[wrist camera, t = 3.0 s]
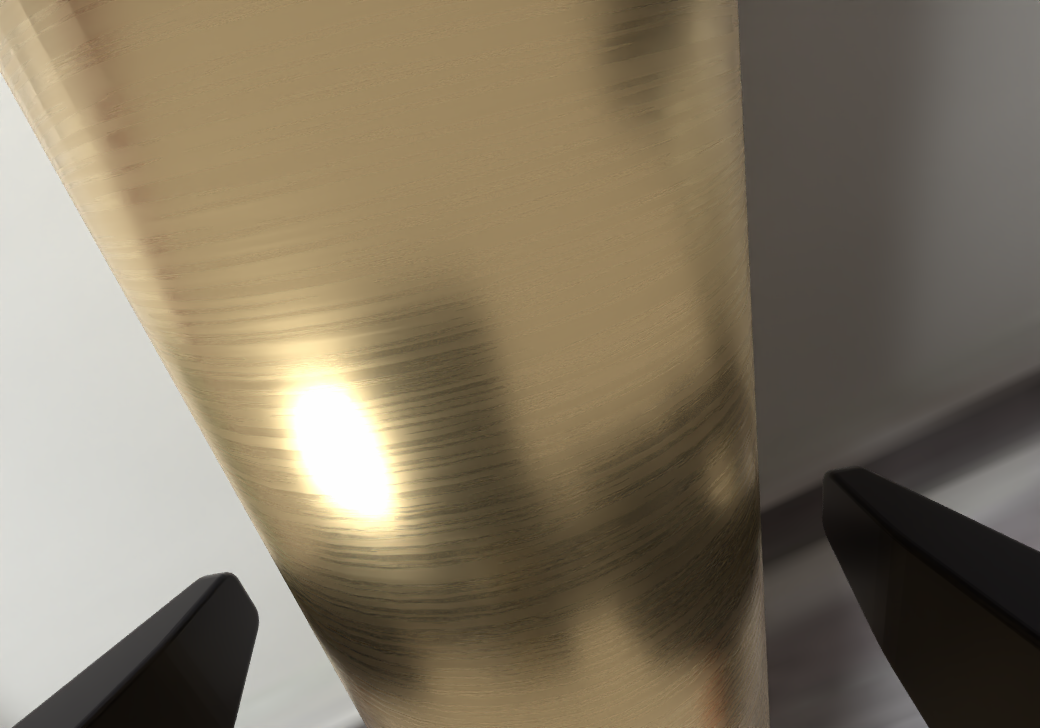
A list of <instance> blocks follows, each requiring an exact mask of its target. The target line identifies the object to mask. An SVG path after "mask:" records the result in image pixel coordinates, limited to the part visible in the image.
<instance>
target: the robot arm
mask: <svg viewBox="0 0 1040 728" xmlns="http://www.w3.org/2000/svg"><path fill="white" fill-rule="evenodd" d="M822 518H823V526H824V530H825V533H826V536H827V538H828V541H829V543H830V545H831V547H832V549H833V551H834V553H835V555H836V557H837V559H838V561H839V563H840V565H841V568H842V570H843V572H844V574H845V576H846V578H847V580H848V582H849V584H850V586H851V588H852V590H853V592H854V594H855V597H856V599H857V601H858V603H859V605H860V607H861V609H862V611H863V613H864V615H865V617H866V619H867V621H868V624H869V626H870V628H871V630H872V632H873V634H874V636H875V638H876V640H877V642H878V644H879V645H880V647H881V649H882V651H883V653H884V655H885V656H886V658H887V660H888V662H889V663H890V665H891V667H892V668H893V670H894V672H895V673H896V675H897V677H898V678H899V680H900V682H901V683H902V685H903V686H904V688H905V690H906V691H907V693H908V694H909V696H910V698H911V699H912V701H913V703H914V704H915V706H916V707H917V709H918V711H919V712H920V714H921V716H922V717H923V719H924V720H925V722H926V724H927V725H928V727H929V728H1040V552H1039V551H1037V550H1035V549H1033V548H1031V547H1029V546H1027V545H1025V544H1023V543H1020V542H1018V541H1016V540H1014V539H1012V538H1010V537H1008V536H1006V535H1004V534H1002V533H1000V532H997V531H995V530H993V529H991V528H989V527H987V526H985V525H983V524H981V523H979V522H976V521H974V520H972V519H970V518H968V517H966V516H964V515H962V514H960V513H958V512H956V511H953V510H951V509H949V508H947V507H945V506H943V505H941V504H939V503H937V502H935V501H932V500H930V499H928V498H926V497H924V496H922V495H920V494H918V493H916V492H914V491H912V490H909V489H907V488H905V487H903V486H901V485H899V484H897V483H895V482H893V481H891V480H889V479H886V478H884V477H882V476H880V475H878V474H876V473H874V472H872V471H870V470H868V469H865V468H863V467H859V466H853V467H847V468H841V469H835V470H830V471H828V472H827V473H826V474H825V476H824V479H823V516H822ZM258 626H259V616H258V612H257V609H256V607H255V605H254V604H253V602H252V600H251V599H250V597H249V596H248V594H247V592H246V591H245V589H244V587H243V586H242V584H241V582H240V581H239V579H238V578H237V577H236V576H235V575H234V574H232V573H229V572H224V573H218V574H212V575H207V576H203V577H201V578H199V579H198V580H196V581H195V582H194V583H193V584H191V585H190V586H189V587H188V588H186V589H185V590H184V591H183V592H181V593H180V594H179V595H178V596H176V597H175V598H174V599H173V600H171V601H170V602H169V603H168V604H166V605H165V606H164V607H163V608H161V609H160V610H159V611H158V612H156V613H155V614H154V615H153V616H151V617H150V618H149V619H148V620H146V621H145V622H144V623H142V624H141V625H140V626H139V627H137V628H136V629H135V630H134V631H132V632H131V633H130V634H129V635H127V636H126V637H125V638H124V639H122V640H121V641H120V642H119V643H117V644H116V645H115V646H114V647H112V648H111V649H110V650H109V651H107V652H106V653H105V654H104V655H102V656H101V657H100V658H99V659H97V660H96V661H95V662H94V663H92V664H91V665H90V666H89V667H87V668H86V669H85V670H84V671H82V672H81V673H80V674H79V675H77V676H76V677H75V678H74V679H72V680H71V681H70V682H69V683H67V684H66V685H65V686H63V687H62V688H61V689H60V690H58V691H57V692H56V693H55V694H53V695H52V696H51V697H50V698H48V699H47V700H46V701H45V702H43V703H42V704H41V705H40V706H38V707H37V708H36V709H35V710H33V711H32V712H31V713H30V714H28V715H27V716H26V717H25V718H23V719H22V720H21V721H20V722H18V723H17V724H16V725H15V726H13V727H12V728H234V725H235V721H236V718H237V713H238V709H239V705H240V701H241V697H242V693H243V689H244V685H245V681H246V677H247V673H248V668H249V664H250V660H251V656H252V652H253V648H254V644H255V640H256V636H257V632H258Z"/></svg>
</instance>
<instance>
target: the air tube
mask: <svg viewBox="0 0 1040 728" xmlns="http://www.w3.org/2000/svg"><path fill="white" fill-rule="evenodd" d="M0 72H1V74H2V76H3V78H4V79H5V81H6V83H7V85H8V87H9V88H10V90H11V92H12V94H13V95H14V97H15V99H16V101H17V103H18V104H19V106H20V108H21V110H22V112H23V113H24V115H25V117H26V119H27V120H28V122H29V124H30V126H31V128H32V129H33V131H34V133H35V135H36V137H37V138H38V140H39V142H40V144H41V145H42V147H43V149H44V151H45V153H46V154H47V156H48V158H49V160H50V162H51V163H52V165H53V167H54V169H55V171H56V172H57V174H58V176H59V178H60V179H61V181H62V183H63V185H64V187H65V188H66V190H67V192H68V194H69V196H70V197H71V199H72V201H73V203H74V204H75V206H76V208H77V210H78V212H79V213H80V215H81V217H82V219H83V221H84V222H85V224H86V226H87V228H88V229H89V231H90V233H91V235H92V237H93V238H94V240H95V242H96V244H97V246H98V247H99V249H100V251H101V253H102V254H103V256H104V258H105V260H106V262H107V263H108V265H109V267H110V269H111V271H112V272H113V274H114V276H115V278H116V280H117V281H118V283H119V285H120V287H121V288H122V290H123V292H124V294H125V296H126V297H127V299H128V301H129V303H130V305H131V306H132V308H133V310H134V312H135V313H136V315H137V317H138V319H139V321H140V322H141V324H142V326H143V328H144V330H145V331H146V333H147V335H148V337H149V338H150V340H151V342H152V344H153V346H154V347H155V349H156V351H157V353H158V355H159V356H160V358H161V360H162V362H163V364H164V365H165V367H166V369H167V371H168V372H169V374H170V376H171V378H172V380H173V381H174V383H175V385H176V387H177V389H178V390H179V392H180V394H181V396H182V397H183V399H184V401H185V403H186V405H187V406H188V408H189V410H190V412H191V414H192V415H193V417H194V419H195V421H196V422H197V424H198V426H199V428H200V430H201V431H202V433H203V435H204V437H205V439H206V440H207V442H208V444H209V446H210V448H211V449H212V451H213V453H214V455H215V456H216V458H217V460H218V462H219V464H220V465H221V467H222V469H223V471H224V473H225V474H226V476H227V478H228V480H229V481H230V483H231V485H232V487H233V489H234V490H235V492H236V494H237V496H238V498H239V499H240V501H241V503H242V505H243V506H244V508H245V510H246V512H247V514H248V515H249V517H250V519H251V521H252V523H253V524H254V526H255V528H256V530H257V531H258V533H259V535H260V537H261V539H262V540H263V542H264V544H265V546H266V548H267V549H268V551H269V553H270V555H271V557H272V558H273V560H274V562H275V564H276V565H277V567H278V569H279V571H280V573H281V574H282V576H283V578H284V580H285V582H286V583H287V585H288V587H289V589H290V590H291V592H292V594H293V596H294V598H295V599H296V601H297V603H298V605H299V607H300V608H301V610H302V612H303V614H304V615H305V617H306V619H307V621H308V623H309V624H310V626H311V628H312V630H313V632H314V633H315V635H316V637H317V639H318V641H319V642H320V644H321V646H322V648H323V649H324V651H325V653H326V655H327V657H328V658H329V660H330V662H331V664H332V666H333V667H334V669H335V671H336V673H337V674H338V676H339V678H340V680H341V682H342V683H343V685H344V687H345V689H346V691H347V692H348V694H349V696H350V698H351V699H352V701H353V703H354V705H355V707H356V708H357V710H358V712H359V714H360V716H361V717H362V719H363V721H364V723H365V725H366V726H367V728H770V719H769V696H768V674H767V651H766V629H765V606H764V584H763V561H762V539H761V516H760V494H759V471H758V449H757V426H756V404H755V381H754V359H753V336H752V314H751V291H750V269H749V247H748V224H747V202H746V179H745V156H744V134H743V111H742V89H741V66H740V44H739V22H738V0H0Z"/></svg>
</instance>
